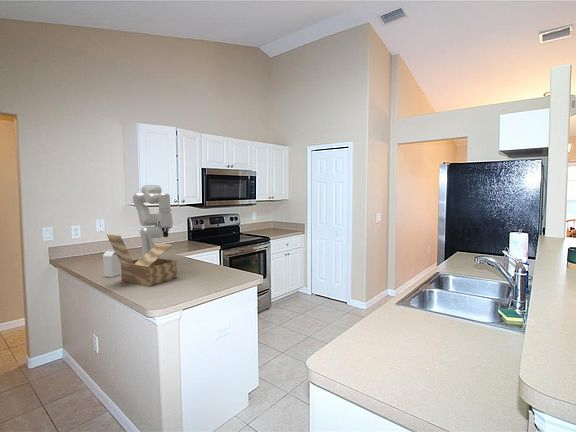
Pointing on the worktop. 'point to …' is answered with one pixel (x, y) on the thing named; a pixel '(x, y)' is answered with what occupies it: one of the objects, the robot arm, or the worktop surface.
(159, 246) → the flap
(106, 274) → the milk carton
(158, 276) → the carton
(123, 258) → the flap
